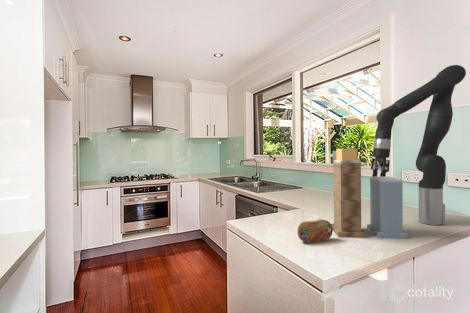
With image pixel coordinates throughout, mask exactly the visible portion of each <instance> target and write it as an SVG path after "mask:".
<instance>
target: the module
mask: <svg viewBox="0 0 470 313" xmlns="http://www.w3.org/2000/svg"><path fill="white" fill-rule="evenodd" d="M357 150H358V149H357V148H336V150H333V151H332V160H341V161H353V160H358V151H357Z"/></svg>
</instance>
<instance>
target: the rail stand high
mask: <svg viewBox="0 0 470 313" xmlns="http://www.w3.org/2000/svg"><path fill="white" fill-rule="evenodd" d="M332 161H333V162H332V164H333V168H332V169H333V223H330V224H331V225H332V228H333V232H334V233H335V235H336V236H337V237H338V238H361V239H363V238H364V239H367V232H366V231H364V230H363V229H362V163H361V162H362V161H361V160H360V159H357V160H353V161H341V160H336V159H332Z"/></svg>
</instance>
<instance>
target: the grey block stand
mask: <svg viewBox="0 0 470 313" xmlns="http://www.w3.org/2000/svg"><path fill="white" fill-rule="evenodd" d="M369 189H370V190H369V197H370V198H369V200H370V201H369V206H370V207H369V208H370V209H369V211H370V213H369V214H370V217H369V218H370V219H369V220H370V221H369V223H370V224H369V223H367V224H366V229H367V230H368V231H369V232H371V233H372V234H373V235H375V237H377V238H378V239H397V240H398V239H400V240H404V239H408V240H409V233H407V232H405V231H404V229H403V226H404V225H403V224H404V223H403V219H404V218H403V216H404V215H403V213H404V212H403V210H404V208H403V207H404V206H403V205H404V203H403V201H404V200H403V195H404V192H403V179H401V178H397V177H394V176H393V177H392V176H386V177H380V176H377V177H372V176H370V177H369Z"/></svg>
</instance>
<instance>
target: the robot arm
mask: <svg viewBox="0 0 470 313" xmlns="http://www.w3.org/2000/svg"><path fill="white" fill-rule="evenodd" d="M466 75H467V71H466V69H465V67H463V66H462V65H459V64H452V65H449V66H446V67H444V68H443V69H442V70H441V71H440V72H438V73H437V75H436V76H435V77H434V78H432V79H431V80H430V81H428V82H426V83H425V84H423V85H422V86H420V87H418V88H416V89H415V90H412V91H411V92H409V93H408V94H406V95H404V96H402V97H401V98H399V99H397V100H396V101H395V102H393V103H392V104H391V105H389V106H387V107H386V108H383V109H381V110H380V111H379V112H378V113H377V114H376V117H375V118H376V121H377V127H376V129H375V136H374V141H373V146H372V147H373V148H372V157H374V158H372V159H371V165H370V170H372V175H371V177H378V174H379V171H380V175H379V177H387V176H386V174H387V173H389V172H390V162H391V161H390V153H391V147H392V130H393V127H394V122H395V119H396V118H397V117H399V116H401V115H403V114H405V113H406V112H408V111H410V110H412V109H413V108H416V107H417V106H419V105H420V104H421V103H422V102H425V101H426V100H427V99H429V98H430V97H432V99H431V102H430V107H429V111H428V114H427V118H426V122H425V128H424V133H423V136H422V141H421V146H420V148H419V151H418V154H417V156H416V160H415V167H416V169H417V170H418V171H419V172H421V173H422V179H420V180H419V181H418V222H419V223H422V224H426V225H431V226H442V225H446V204H445V203H444V185H445V182H446V173H447V165H446V160H445V159H444V157H443V156H441V155H439V154H438V151H439V148H440V146H441V145H440V144H441V143H442V142H443V140H444V139H445V137H446V136H447V134H448V132H450V128H451V124H452V121H453V115H454V114H453V113H454V112H453V105H452V97H453V92H454V90H455V87H456V86H457V85H458V84H460V83H461V82H462V81H463V80H464V79H465V77H466Z"/></svg>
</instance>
